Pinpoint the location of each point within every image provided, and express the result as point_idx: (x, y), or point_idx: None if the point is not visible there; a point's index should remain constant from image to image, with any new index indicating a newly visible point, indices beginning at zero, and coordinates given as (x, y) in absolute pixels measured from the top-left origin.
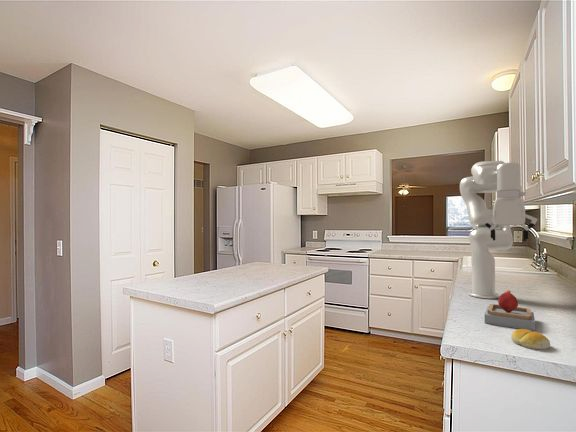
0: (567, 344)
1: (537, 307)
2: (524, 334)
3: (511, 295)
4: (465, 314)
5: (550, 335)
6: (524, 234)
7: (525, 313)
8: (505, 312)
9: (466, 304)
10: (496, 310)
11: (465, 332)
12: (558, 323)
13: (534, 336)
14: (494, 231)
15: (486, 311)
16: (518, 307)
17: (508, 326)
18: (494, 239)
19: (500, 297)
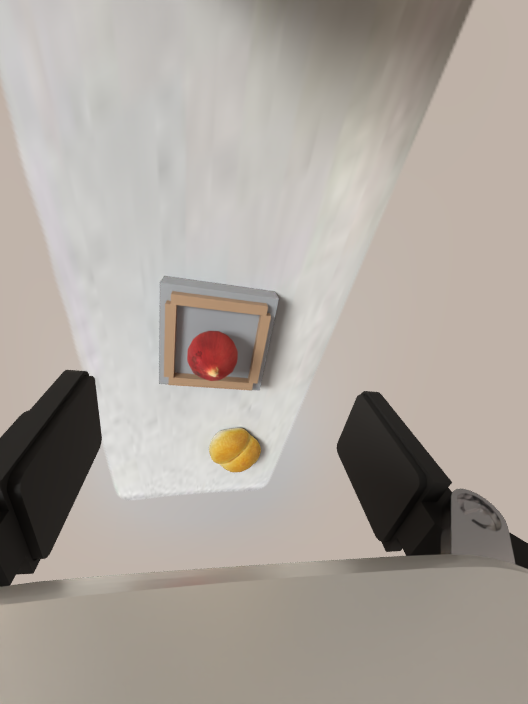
0: (288, 423)
1: (337, 76)
2: (227, 462)
3: (220, 377)
4: (107, 314)
5: (277, 392)
6: (367, 506)
7: (254, 329)
8: (204, 380)
9: (76, 153)
10: (185, 331)
11: (135, 442)
12: (323, 296)
13: (239, 471)
14: (48, 544)
15: (161, 353)
16: (242, 311)
17: None
18: (94, 447)
19: (192, 369)
